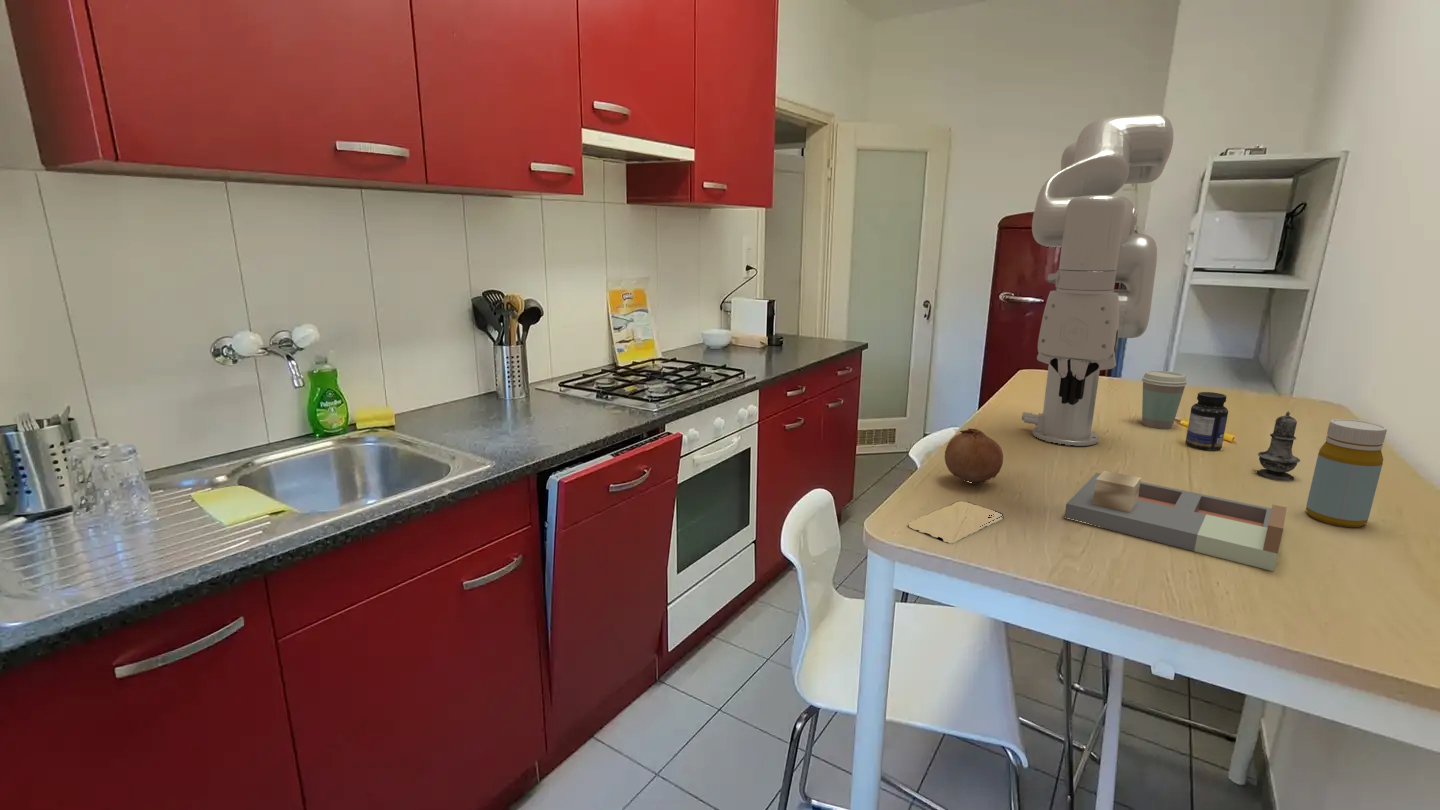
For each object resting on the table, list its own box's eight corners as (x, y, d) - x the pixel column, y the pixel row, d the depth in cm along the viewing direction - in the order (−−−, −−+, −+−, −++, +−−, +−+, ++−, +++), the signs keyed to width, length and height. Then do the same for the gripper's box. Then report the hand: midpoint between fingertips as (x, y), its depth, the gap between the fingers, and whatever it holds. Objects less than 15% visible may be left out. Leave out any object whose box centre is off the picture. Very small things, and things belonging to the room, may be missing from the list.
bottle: (1372, 532, 96) (1398, 434, 93) (1309, 522, 100) (1331, 426, 96) (1359, 515, 102) (1383, 422, 98) (1301, 506, 106) (1321, 416, 102)
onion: (933, 484, 116) (937, 429, 114) (956, 470, 123) (960, 418, 120) (987, 498, 110) (993, 440, 107) (1008, 482, 117) (1014, 428, 114)
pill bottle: (1208, 442, 139) (1217, 390, 136) (1228, 451, 133) (1239, 398, 130) (1178, 442, 139) (1186, 390, 136) (1197, 451, 133) (1207, 397, 130)
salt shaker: (1303, 482, 116) (1318, 416, 113) (1265, 480, 117) (1279, 414, 114) (1283, 471, 122) (1297, 407, 119) (1247, 469, 123) (1259, 406, 120)
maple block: (1092, 503, 101) (1096, 479, 100) (1100, 494, 105) (1104, 470, 104) (1130, 512, 98) (1134, 487, 97) (1137, 502, 101) (1141, 477, 100)
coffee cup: (1188, 430, 147) (1197, 377, 144) (1149, 430, 147) (1158, 377, 144) (1163, 420, 155) (1172, 370, 152) (1127, 420, 155) (1134, 370, 152)
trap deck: (1064, 518, 102) (1069, 482, 100) (1094, 486, 115) (1099, 453, 113) (1273, 571, 86) (1283, 528, 84) (1281, 526, 99) (1289, 488, 97)
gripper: (1024, 281, 100) (1011, 399, 105) (1138, 286, 91) (1119, 415, 95) (1040, 279, 106) (1027, 391, 110) (1149, 283, 96) (1130, 406, 101)
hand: (1069, 402), depth 103 cm, fingers closed
